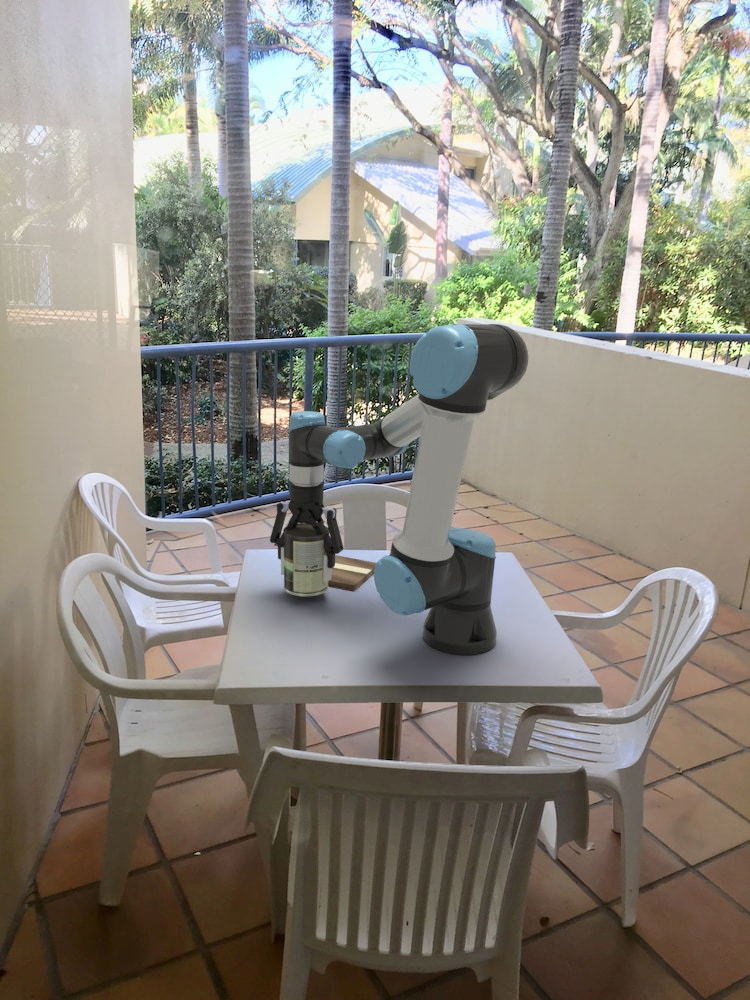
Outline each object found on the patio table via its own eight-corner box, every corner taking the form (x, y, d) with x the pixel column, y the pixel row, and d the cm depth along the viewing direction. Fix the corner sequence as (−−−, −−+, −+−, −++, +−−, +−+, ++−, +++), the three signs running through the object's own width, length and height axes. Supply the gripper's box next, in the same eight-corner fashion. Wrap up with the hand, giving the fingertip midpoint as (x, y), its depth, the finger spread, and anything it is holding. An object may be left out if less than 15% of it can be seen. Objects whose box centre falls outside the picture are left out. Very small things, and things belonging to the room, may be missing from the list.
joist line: (366, 574, 181) (366, 573, 181) (301, 561, 188) (301, 561, 188) (371, 570, 184) (371, 569, 184) (306, 558, 190) (306, 557, 190)
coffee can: (274, 590, 168) (273, 531, 164) (300, 576, 177) (301, 520, 173) (311, 600, 163) (312, 539, 160) (337, 585, 172) (338, 527, 168)
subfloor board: (354, 591, 175) (354, 585, 175) (286, 577, 181) (286, 571, 181) (379, 568, 189) (379, 563, 189) (316, 556, 196) (316, 551, 195)
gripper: (360, 484, 163) (358, 579, 169) (270, 472, 171) (270, 563, 177) (346, 492, 156) (344, 590, 162) (253, 479, 164) (254, 574, 170)
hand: (306, 576), depth 169 cm, fingers closed on coffee can, 10 cm apart
